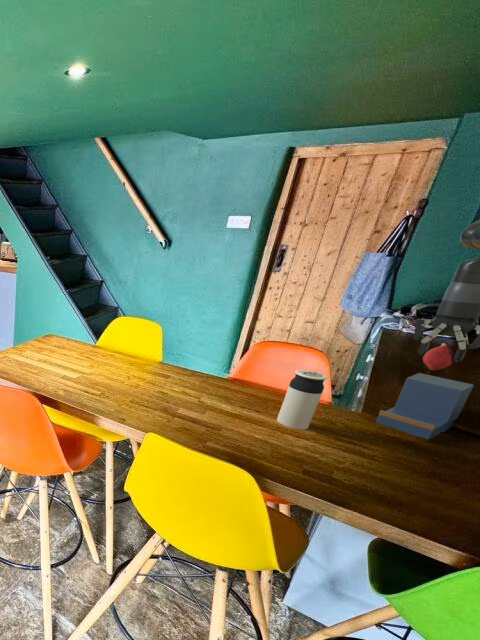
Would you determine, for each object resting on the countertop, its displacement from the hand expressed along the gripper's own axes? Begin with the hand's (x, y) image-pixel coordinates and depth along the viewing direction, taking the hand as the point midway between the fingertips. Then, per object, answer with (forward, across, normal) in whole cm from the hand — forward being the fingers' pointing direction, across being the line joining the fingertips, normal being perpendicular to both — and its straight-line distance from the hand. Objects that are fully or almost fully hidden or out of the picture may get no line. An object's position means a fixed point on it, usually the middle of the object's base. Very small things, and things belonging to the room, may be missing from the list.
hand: (438, 358), depth 114 cm
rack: (+24, +1, -8) cm, 25 cm away
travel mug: (+24, +19, +27) cm, 40 cm away
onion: (+4, 0, 0) cm, 4 cm away
